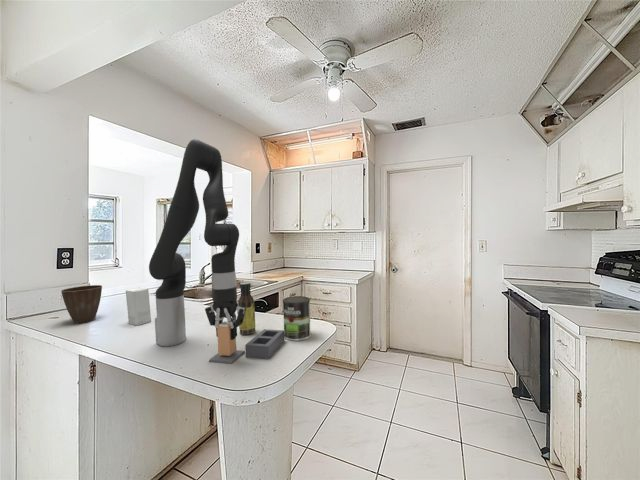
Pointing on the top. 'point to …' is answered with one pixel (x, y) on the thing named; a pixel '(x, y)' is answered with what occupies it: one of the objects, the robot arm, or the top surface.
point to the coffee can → (296, 318)
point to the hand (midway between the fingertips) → (226, 338)
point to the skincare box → (138, 306)
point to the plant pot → (82, 302)
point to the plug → (225, 339)
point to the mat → (227, 357)
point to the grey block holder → (265, 344)
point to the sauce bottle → (247, 310)
